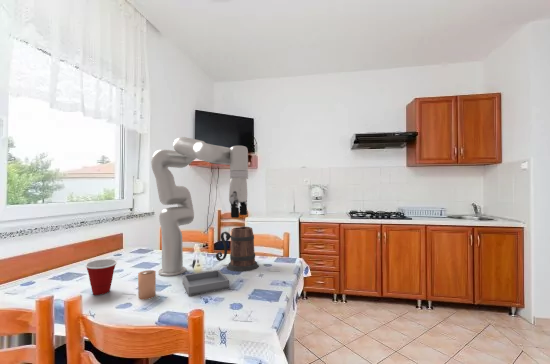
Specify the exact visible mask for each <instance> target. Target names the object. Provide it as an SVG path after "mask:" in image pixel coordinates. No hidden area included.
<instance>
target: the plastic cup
mask: <svg viewBox="0 0 550 364" xmlns="http://www.w3.org/2000/svg"><path fill="white" fill-rule="evenodd" d="M117 264H118V260H116V259H113V258H112V259H111V258H110V259H109V258H103V259H96V260H95V259H94V260H92V261H88V262H87V263H85V265H84V267H85V268H86V270H87V273H88V278H89V284H90V287H91V288H90V289H91V293H92V294H93V295H94V296H100V294H102V295H105V293H106V294H108V293H110V291H111V287H112V282H113V276H114V274H115V273H114V271H115V267H116V265H117ZM107 292H108V293H107Z"/></svg>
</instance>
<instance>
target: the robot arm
mask: <svg viewBox="0 0 550 364" xmlns="http://www.w3.org/2000/svg"><path fill="white" fill-rule="evenodd" d="M172 146H173V147H172V148H173V149H158V150H156V151H155V152H154V153H153V155H152V158H151V159H150V160H151V161H150V164H151V170H152V172H153V175H154V177H155V183H156V187H157V188H156V189H157V194H158V199H159V203H161V204H162V205H163V206H164V205H165V206H172V205H173V206H172V207H166V208H163V209H162V210H161V211H160V213H159V215H158V216H159V218H158V219H159V220H158V221H159V225H160V231H161V269H159V270H158V275H160V276H164V277H166V276H167V277H170V276H178V275H181V274H184V273H185V272H186V271H187V268H186V267H185V266H183V264H184V262H183V260H184V259H183V258H184V257H183V256H184V255H183V253H184V252H183V251H184V250H183V248H184V247H183V231H181V229H180V226H184V225H185V226H186V225H189V224H191V223H192V222H193V221H194V219H195V211H194V205H193V201H192V197H191V192H190V190H189V189H188V188H187V187H186V186H183V185H176V182H175V177H174V175H173V173H172V171H171V170H170V169H169V168H175V169H177V168H178V169H183V168H185V167H188V166H189V165H190V164H191V163H193V162H194V160H200V161H203V162H207V163H211V164H217V165H226V166H227V165H228V166H229V180H230V181H229V188H228V190H229V191H228V192H229V193H228V200H229V201H228V202H229V204H230V217H231V218H232V219H233V218H235V219H238V218H240V216H247V215H248V181H247V180H248V179H249V151H248V149H249V148H248V147H247V146H244V145H233V146H231V147H226V146H223V145H215V144H212V143H211V144H210V143H206V142H205V141H204V140H199V139H197V138H196V139H195V138H190V137H185V136H181V137H178V138H176V139H174V142H173V143H172ZM175 205H177V206H175Z"/></svg>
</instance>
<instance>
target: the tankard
mask: <svg viewBox="0 0 550 364" xmlns="http://www.w3.org/2000/svg"><path fill="white" fill-rule="evenodd" d="M224 235H225V237H224ZM225 238H226V239H225ZM220 239H221V242H222V244H223V247H224V251H223V252H224V253H223V252H221V251H219V252H216V254H215V258H216V260H217V261H219V262H222V261H224V260H225V259H226V258H227V254H228V243H227V242H228V241H229V240H230V254H229V258H230V262H228V264H227V265H226V268H225V269H226V270H228V271H230V272H235V273H236V272H238V273H239V272H241V273H243V272H251V271H255V270H257V269H259V267H260V264H259V263H258V262H257V261H256V253H255V234H254V231H253V228H252V227H250V226H239V227H233V228H232V230H231V234H230V232H229V231H223V232H221V234H220Z"/></svg>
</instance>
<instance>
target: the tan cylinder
mask: <svg viewBox="0 0 550 364" xmlns="http://www.w3.org/2000/svg"><path fill="white" fill-rule="evenodd" d="M156 273H157V272H156V270H153V269H152V270H151V269H150V270H149V269H148V270H143V271H139V272H138V275H137V276H138V277H137V281H138V285H137V289H138V291H137V294H138V295H137V297H138V299H139V300H142V299H144V300H150V299H153V298H155V297H156V296H155V295H156V294H157V292H156V291H157V290H156V289H157V288H156V286H157V285H156V283H157V282H156V281H157V280H156V279H157V278H156V275H157V274H156ZM154 296H155V297H154ZM152 297H153V298H152ZM149 298H150V299H149Z"/></svg>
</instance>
